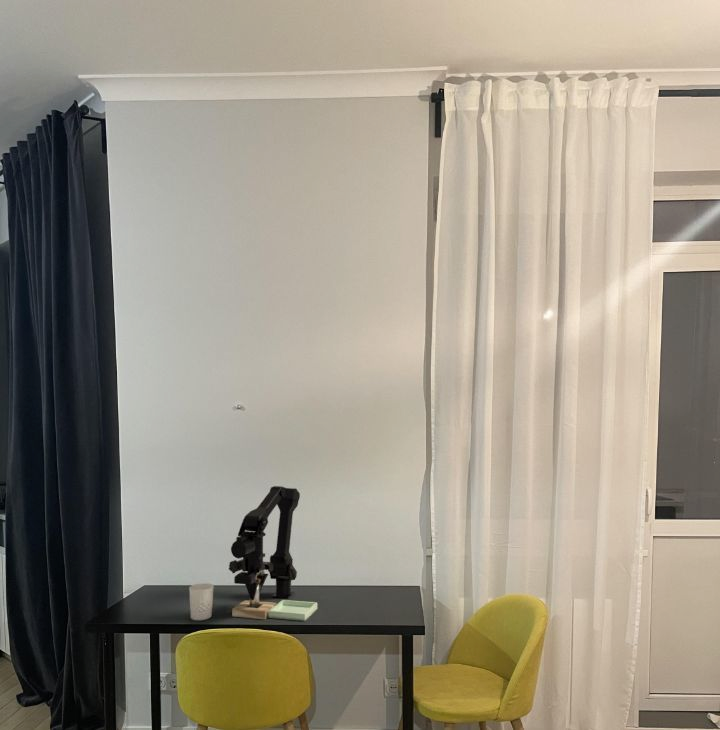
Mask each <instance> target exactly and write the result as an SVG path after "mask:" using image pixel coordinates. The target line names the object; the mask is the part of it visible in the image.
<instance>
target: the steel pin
mask: <svg viewBox="0 0 720 730" xmlns="http://www.w3.org/2000/svg"><path fill="white" fill-rule="evenodd" d="M257 580H260V578H257ZM259 583H260V581H259ZM249 601H250V608H259V602H260V594H259V584H258V588H257V591H256V595H255V598H254V600H251V599H250V598H249Z"/></svg>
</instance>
